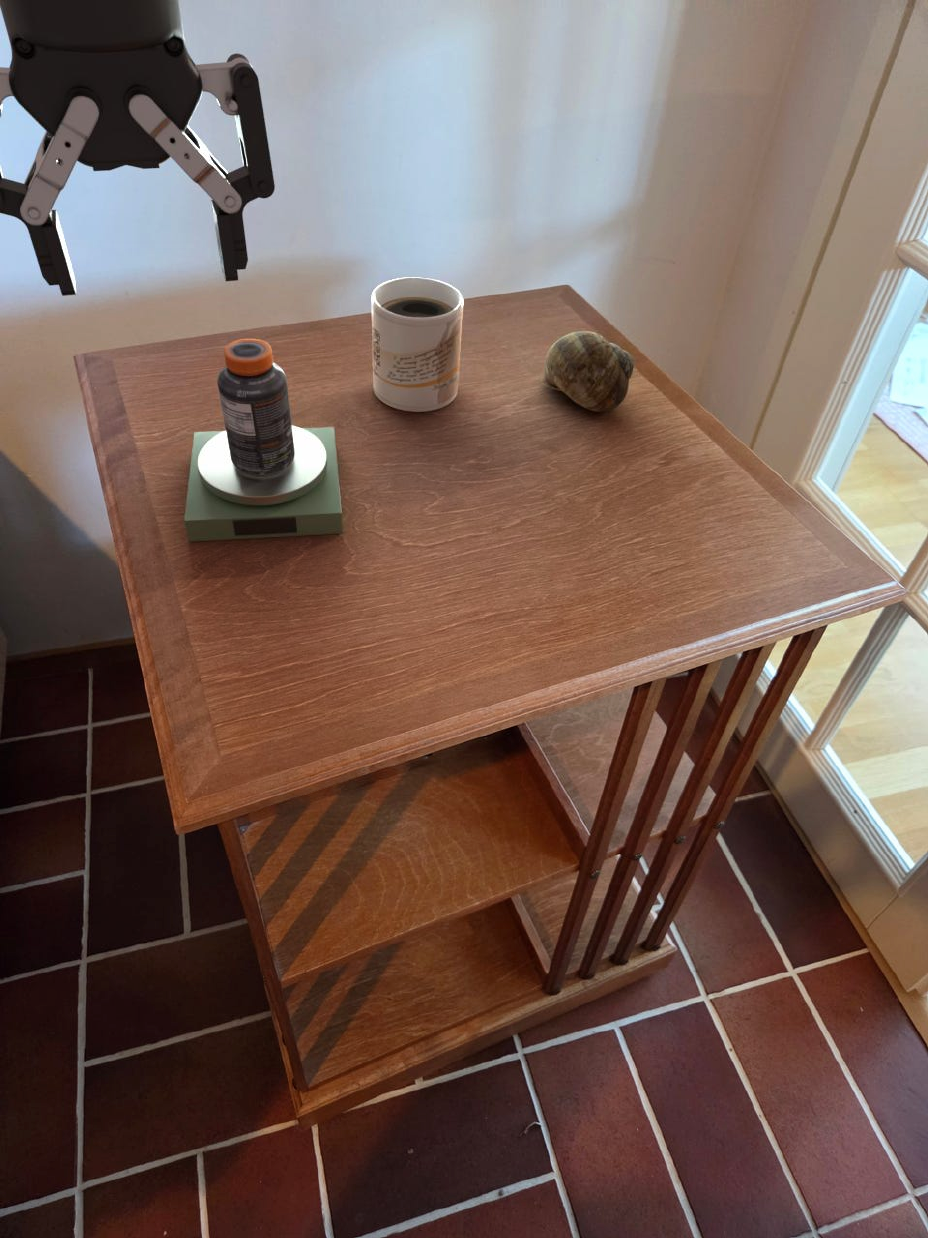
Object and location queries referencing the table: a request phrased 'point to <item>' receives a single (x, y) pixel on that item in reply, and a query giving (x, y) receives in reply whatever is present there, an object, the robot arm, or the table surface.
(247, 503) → the scale
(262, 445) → the pill bottle
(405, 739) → the table surface
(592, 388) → the seashell
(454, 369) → the mug
